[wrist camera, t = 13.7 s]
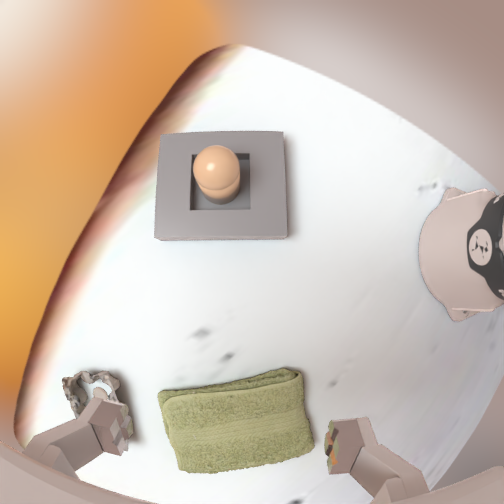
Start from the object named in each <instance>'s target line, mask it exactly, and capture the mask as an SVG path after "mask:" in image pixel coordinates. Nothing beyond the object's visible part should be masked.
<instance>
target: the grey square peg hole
mask: <svg viewBox="0 0 504 504" xmlns="http://www.w3.org/2000/svg"><path fill="white" fill-rule="evenodd" d="M213 145H220V146H224V147H227V148H229V149H230V150H232V151H233V152H234V153H235V155H236V156H237V158H238V160H239V164H240V191H239V193H238V195H237V197H236V198H235V199H234V200H233V201H231V202H229V203H227V204H223V205H217V204H213V203H211V202H209V201H208V200H207V199H206V198H205V197H204V195H203V193H202V191H201V189H200V187H199V185H198V183H197V181H196V179H195V176H194V173H193V164H194V161H195V158H196V157H197V155H198V154H199V153H200V152H201V151H202V150H203V149H205V148H207V147H209V146H213ZM286 237H287V206H286V180H285V158H284V139H283V132H276V131H215V132H190V133H174V134H161V138H160V149H159V160H158V172H157V187H156V205H155V231H154V238H157V239H159V240H161V241H171V240H258V239H284V238H286Z"/></svg>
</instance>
